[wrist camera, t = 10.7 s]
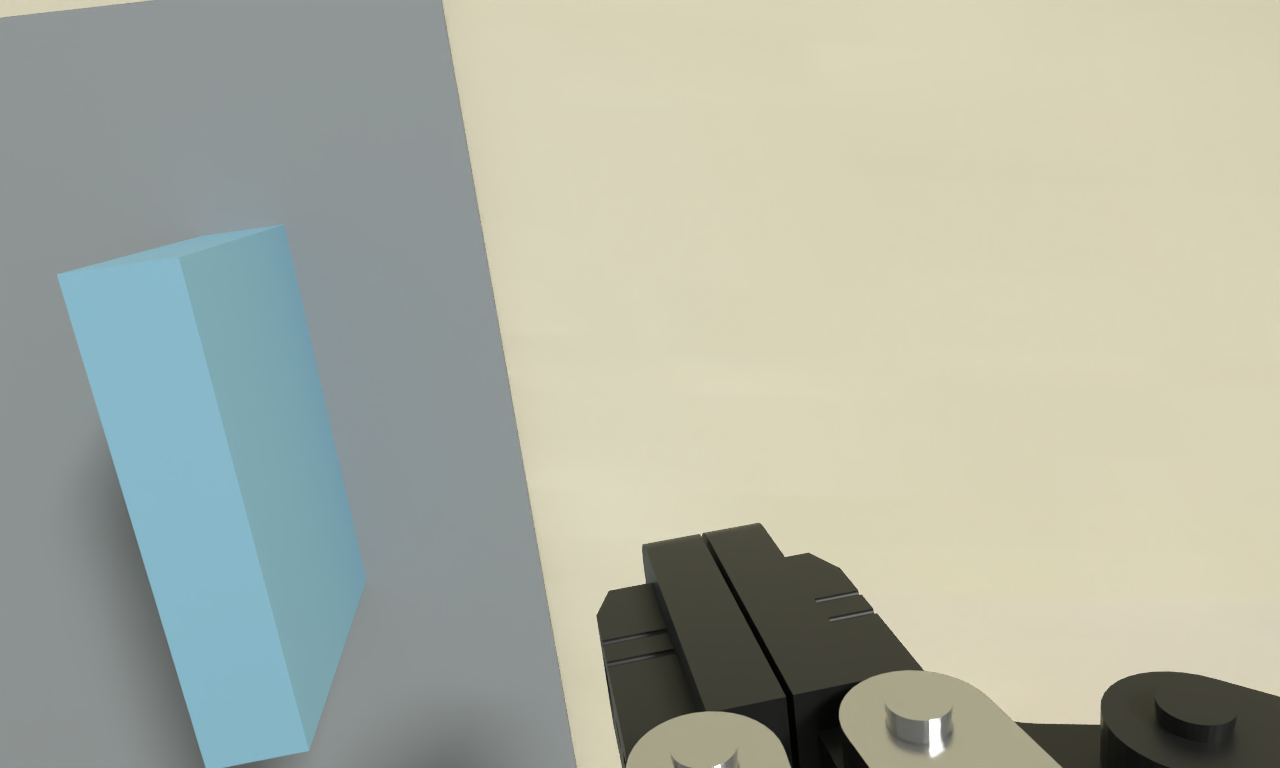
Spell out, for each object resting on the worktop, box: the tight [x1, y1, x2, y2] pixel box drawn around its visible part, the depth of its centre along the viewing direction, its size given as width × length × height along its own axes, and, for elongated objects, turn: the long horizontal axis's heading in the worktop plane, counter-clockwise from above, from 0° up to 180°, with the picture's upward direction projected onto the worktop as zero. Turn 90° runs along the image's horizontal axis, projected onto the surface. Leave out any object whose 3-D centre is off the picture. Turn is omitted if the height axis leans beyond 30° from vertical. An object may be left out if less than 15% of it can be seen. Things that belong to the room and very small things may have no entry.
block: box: [57, 225, 366, 768], centre depth 16 cm, size 2×8×6 cm, turn 8°
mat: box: [0, 0, 577, 768], centre depth 19 cm, size 15×19×1 cm
